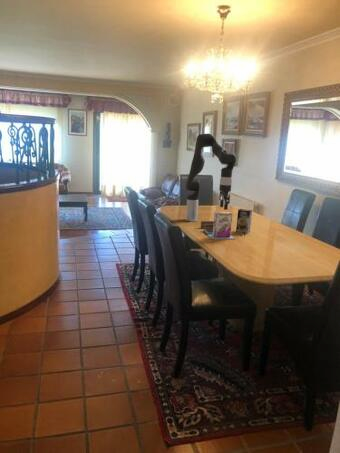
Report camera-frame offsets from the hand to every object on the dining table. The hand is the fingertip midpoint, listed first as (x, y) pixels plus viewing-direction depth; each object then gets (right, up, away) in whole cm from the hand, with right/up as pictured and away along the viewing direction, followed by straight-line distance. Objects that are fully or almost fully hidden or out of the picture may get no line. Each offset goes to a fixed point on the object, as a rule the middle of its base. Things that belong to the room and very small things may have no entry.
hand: (223, 208), depth 244 cm
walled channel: (-5, -14, +26) cm, 30 cm away
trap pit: (-3, -17, +15) cm, 23 cm away
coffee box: (+18, -16, +24) cm, 34 cm away
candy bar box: (-1, -19, +4) cm, 19 cm away
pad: (-1, -19, +4) cm, 20 cm away
